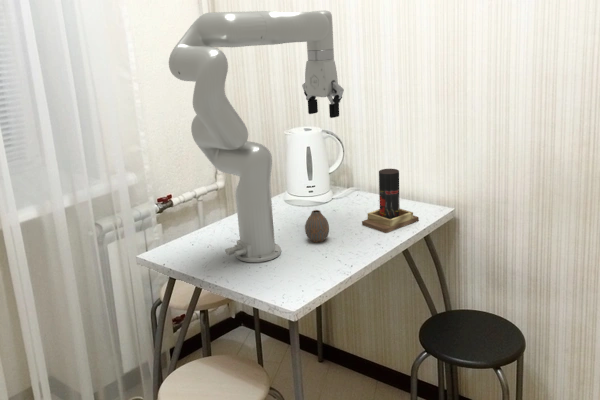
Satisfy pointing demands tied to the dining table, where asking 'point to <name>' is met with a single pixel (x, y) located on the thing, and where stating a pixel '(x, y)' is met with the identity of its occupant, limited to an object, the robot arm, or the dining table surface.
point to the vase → (316, 227)
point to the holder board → (389, 221)
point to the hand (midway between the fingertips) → (323, 115)
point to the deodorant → (389, 193)
